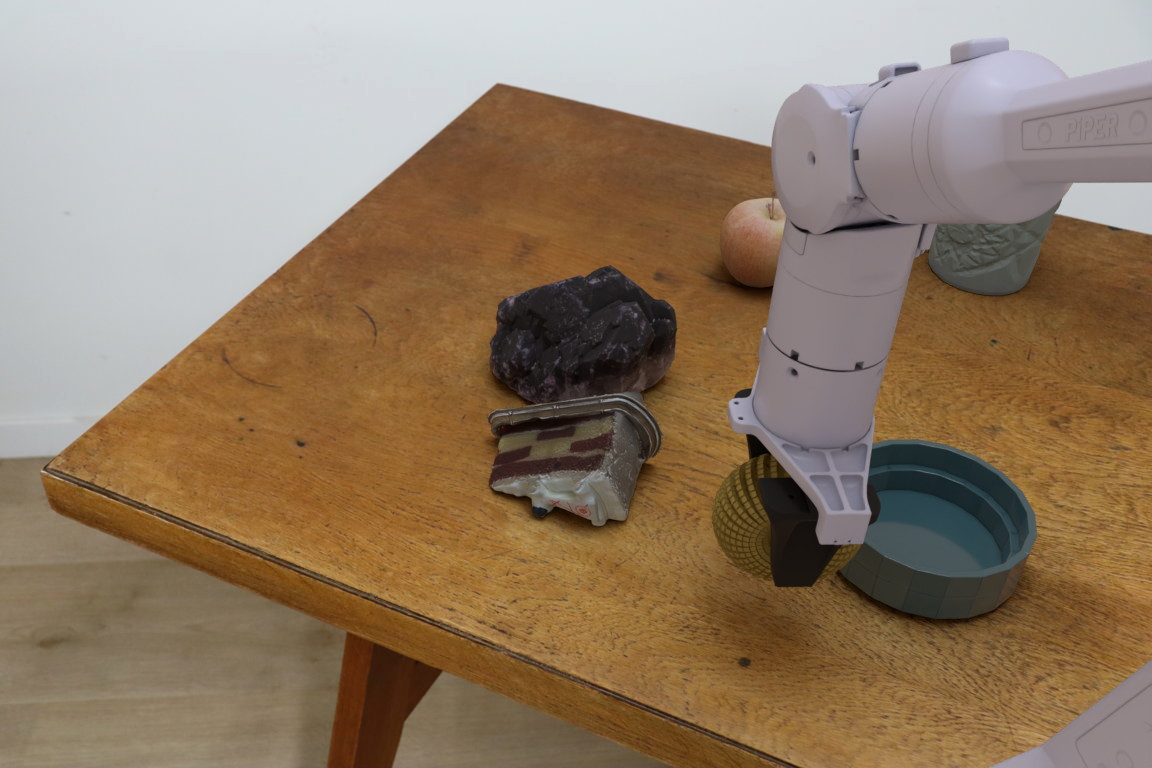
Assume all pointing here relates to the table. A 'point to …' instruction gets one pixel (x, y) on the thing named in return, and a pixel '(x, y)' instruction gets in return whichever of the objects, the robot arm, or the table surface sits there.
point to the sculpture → (755, 520)
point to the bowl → (942, 532)
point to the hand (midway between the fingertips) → (782, 545)
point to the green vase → (988, 254)
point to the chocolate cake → (575, 453)
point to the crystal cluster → (583, 338)
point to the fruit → (753, 240)
